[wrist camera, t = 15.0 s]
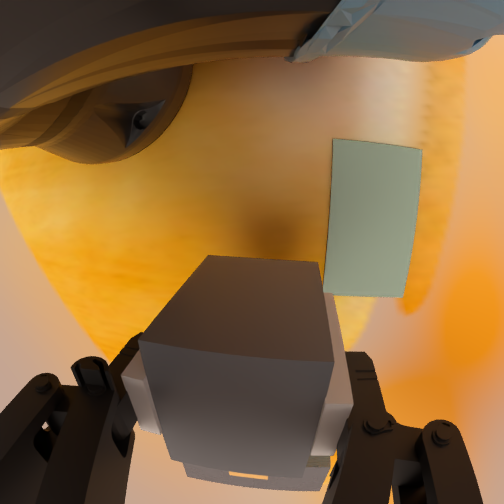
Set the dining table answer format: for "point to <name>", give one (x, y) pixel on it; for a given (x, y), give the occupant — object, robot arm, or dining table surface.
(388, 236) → the pad
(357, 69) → the dining table surface
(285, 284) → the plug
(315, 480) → the housing
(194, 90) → the dining table surface
